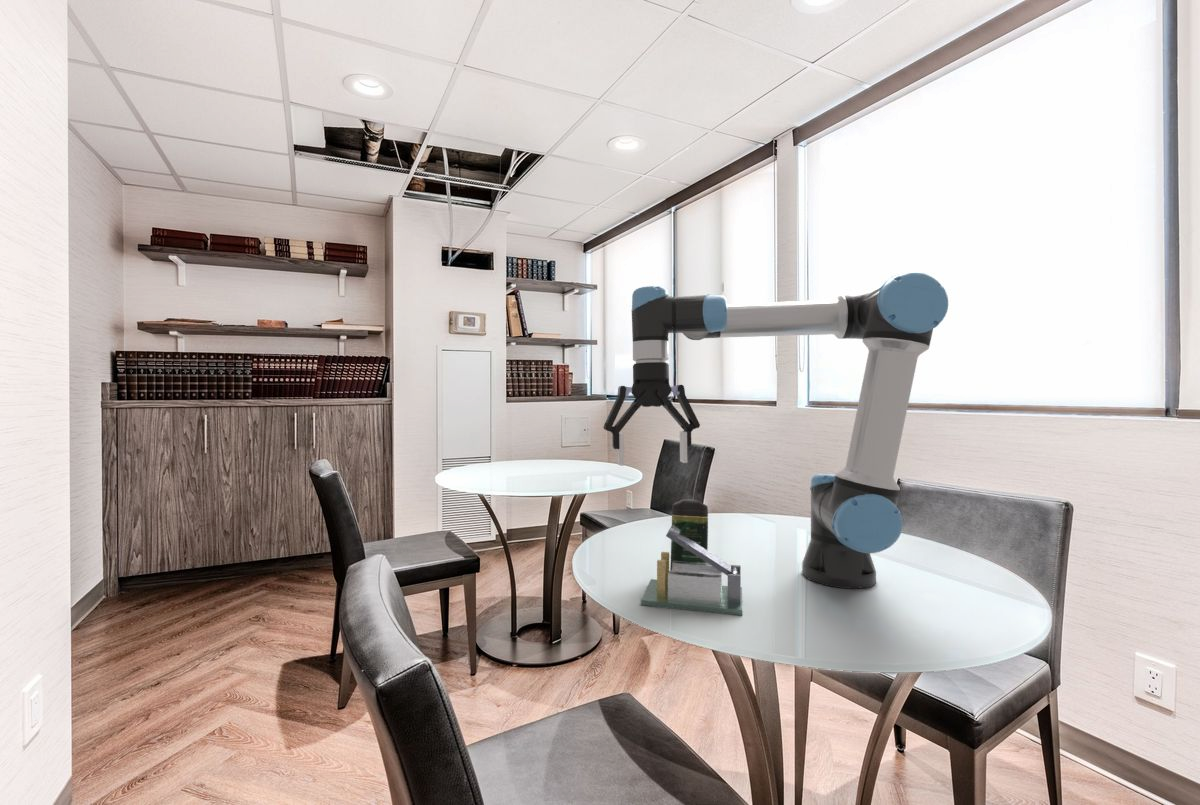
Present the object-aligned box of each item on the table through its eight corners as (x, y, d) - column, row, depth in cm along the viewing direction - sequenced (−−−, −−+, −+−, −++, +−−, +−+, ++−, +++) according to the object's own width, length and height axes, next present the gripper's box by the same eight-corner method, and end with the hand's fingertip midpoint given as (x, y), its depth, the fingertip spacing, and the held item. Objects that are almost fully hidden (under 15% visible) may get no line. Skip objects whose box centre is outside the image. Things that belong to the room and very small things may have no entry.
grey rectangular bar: (728, 569, 107) (732, 563, 107) (728, 576, 103) (732, 569, 103) (668, 531, 110) (672, 524, 110) (665, 536, 106) (669, 529, 106)
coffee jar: (709, 591, 110) (710, 500, 113) (671, 588, 111) (673, 498, 114) (704, 582, 120) (705, 499, 123) (668, 580, 120) (670, 497, 123)
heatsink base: (741, 592, 110) (741, 553, 110) (742, 615, 99) (742, 572, 99) (650, 583, 115) (650, 547, 115) (641, 605, 103) (641, 564, 103)
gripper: (701, 362, 117) (703, 459, 117) (589, 364, 113) (591, 463, 114) (714, 360, 110) (715, 463, 110) (594, 361, 106) (596, 468, 106)
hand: (652, 463), depth 112 cm, fingers open, 13 cm apart
